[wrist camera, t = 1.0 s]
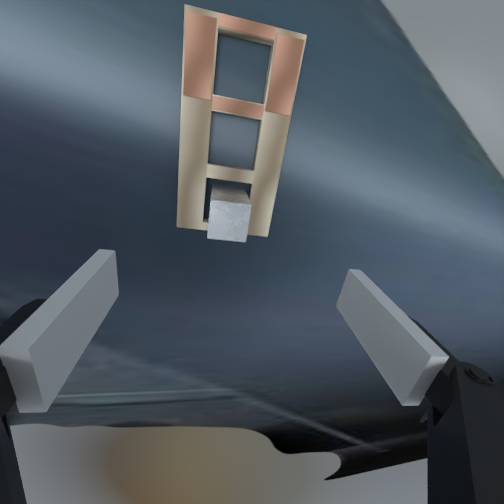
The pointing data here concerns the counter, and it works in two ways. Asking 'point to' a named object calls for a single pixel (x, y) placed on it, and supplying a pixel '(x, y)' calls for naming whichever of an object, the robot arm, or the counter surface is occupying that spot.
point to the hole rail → (205, 102)
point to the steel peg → (229, 213)
